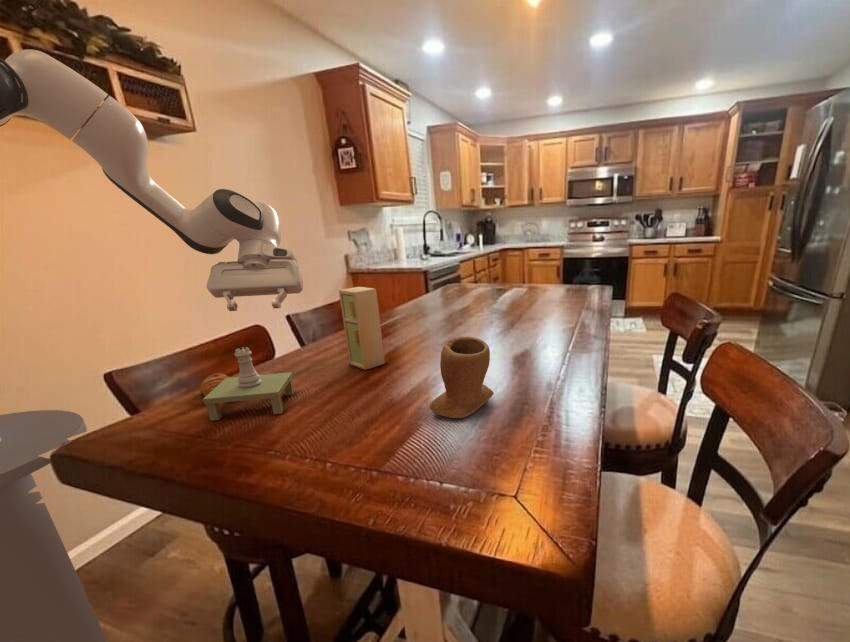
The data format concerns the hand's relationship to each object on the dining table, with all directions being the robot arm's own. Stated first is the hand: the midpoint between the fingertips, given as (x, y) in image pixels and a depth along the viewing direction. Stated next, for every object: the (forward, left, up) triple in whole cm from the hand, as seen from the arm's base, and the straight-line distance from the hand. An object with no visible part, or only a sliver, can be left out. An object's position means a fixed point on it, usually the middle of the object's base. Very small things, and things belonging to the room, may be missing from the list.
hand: (254, 308), depth 93 cm
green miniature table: (0, -11, -19) cm, 22 cm away
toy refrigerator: (+22, +11, -20) cm, 31 cm away
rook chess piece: (0, -11, -15) cm, 18 cm away
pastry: (-11, -1, -20) cm, 23 cm away
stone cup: (+45, -23, -20) cm, 54 cm away
